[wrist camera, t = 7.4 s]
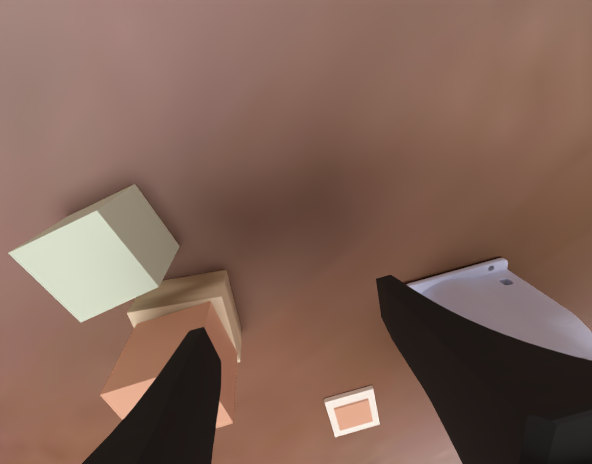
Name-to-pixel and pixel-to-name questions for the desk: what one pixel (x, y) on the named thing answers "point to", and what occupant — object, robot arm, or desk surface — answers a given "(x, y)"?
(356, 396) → the tile
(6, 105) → the desk surface
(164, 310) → the maple base
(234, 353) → the terracotta cube
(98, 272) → the sage cube
